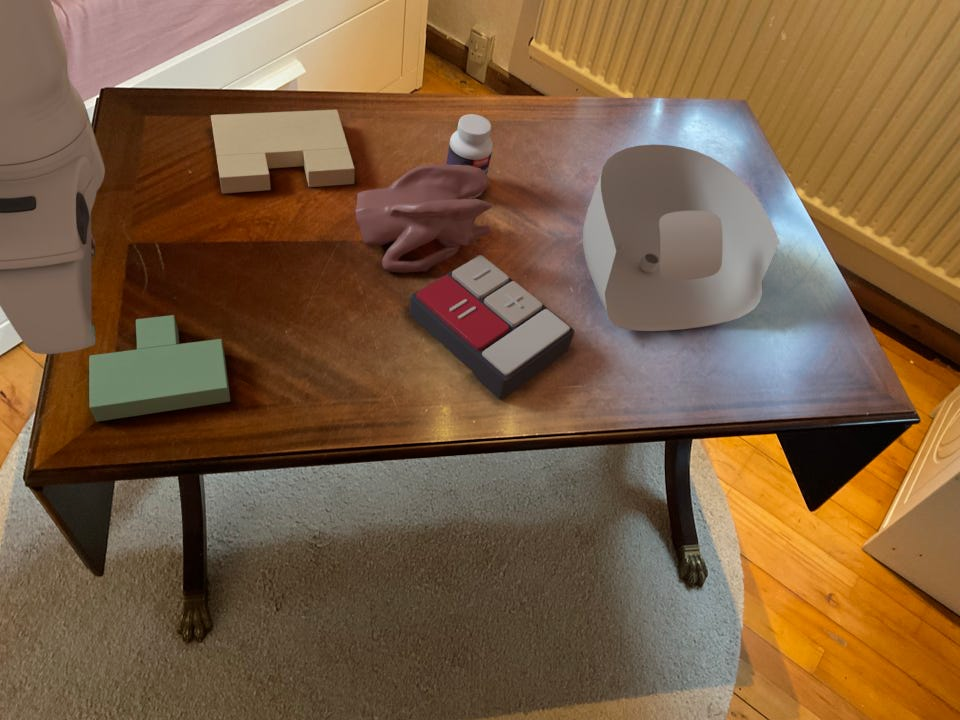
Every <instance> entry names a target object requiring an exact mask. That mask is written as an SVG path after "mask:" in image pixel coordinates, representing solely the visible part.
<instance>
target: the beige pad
mask: <svg viewBox="0 0 960 720" xmlns="http://www.w3.org/2000/svg"><path fill="white" fill-rule="evenodd" d="M340 117H341V116H340V114H339V111H338V109H318V110H317V109H316V110H295V111H274V112H273V111H272V112H270V111H269V112H249V113H248V112H247V113H229V114H211V115H210V120H211V127H212V134H213V140H214V141H213V143H214V148H215V155H216V162H217V168H218V176H219V183H220V189H221V194H234V193H236V194H237V193H249V192H263V191H271V190H272V189H271V188H272V187H271V176H270V171H269V169H278V168H279V169H280V168H296V167H303V169H304V173H305V177H306V181H307V185H308V188H317V187H330V186H331V187H332V186H342V185H343V186H344V185H354V184H355V173H356V172H355V166H354V160H353V158H352V155H351V152H350V151H351V150H350V148H349V145H348V142H347V141H348V140H347V138H346V135H345V131H344V127H343V124H342V120H341V118H340Z"/></svg>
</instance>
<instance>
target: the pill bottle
mask: <svg viewBox="0 0 960 720" xmlns="http://www.w3.org/2000/svg"><path fill="white" fill-rule="evenodd" d="M491 130H492V124H491V122H490V121H489V119H487V118H486V117H484V116H482V115H480V114H474V113H469V114H464V115H462V116H461V117H460V118H459V119H458V123H457V128H456V130H455V131H454V132H453V133H452V135H450V139H449V143H448V150H447V157H446V163H445V164H448V165H468V166H473V167H476V168H480V169H481V170H483V172H484V173H485V174H486V176H487V177H488V172H489V167H490V162H491V158H492V153H493V147H494V144H493V140H492V139H491V137H490V136H491ZM482 194H483V192H481V193H480V194H478V195H477V196H474V197H469V198H468V199H476V198H477V197H479V196H481V195H482Z"/></svg>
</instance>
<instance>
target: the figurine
mask: <svg viewBox="0 0 960 720" xmlns="http://www.w3.org/2000/svg"><path fill="white" fill-rule="evenodd" d="M489 184H490V179H489V178H488V175H487V176H486V174H485V173H484V172H483V170H481V169H480V168H476V167H473V166H468V165H448V164H446V163H438V164H422V165H418V166H416V167H414V168H412V169H409V170H408V171H407V172H405V173H403V174H402V175H401V176H400V177H399V178H398V179H395V180H394V181H392V183H391V185H390V186H388V187H383V188H375V189H369V190H368V189H367V190H363V191H360V192H357V194H356V206H355V211H354V213H355V218H356V221H357V224H358V227H359V229H360V234H361V238H362V240H363V243H364V244H365V245H366V246H369V247H379V246H384V245H387V244H390V243H392V244H391V245H390V246H389V247H388V248H387V250H386V252H385V253H384V255H383V256H382V260H381V266H382V268H383V269H384V270H385V271H386V272H392V273H397V274H405V273H406V274H407V273H418V272H421V273H424V272H428V270H430V269H431V268H433V267H434V266H437V265H439V264H441V263H442V262H444V261H446V260H449V259H451V258H453V257H454V256H455V255H456V254H457V253H458V251H459V249H460V247H461V246H463V247H464V246H465V247H467V246H468V245H474V243H476V242H477V241H478V239H480V238H482V237H484V236H487V235H489V234H492V233H493V231H494V229H493V227H492V226H490V225H487V224H481V225H475V222H476V219H477V218H478V217H479V216H480V215H482V214H483V213H485V212H487V211H488V210H490V209H492V207H493V205H492V203H490V202H489V201H485V200H482V199H478V198H472V199H468V198H469V197H474V196H477V195H478V194H480V193H481V192H482V193H483V192H484V191H485V190H486V189H487V188H488V186H489ZM482 193H481V194H482ZM481 194H480V195H481ZM434 240H438V243H439V245H440V247H441V248H442V249H440V250H437V251H435V252H433V253H431V254H428V255H427V256H424V257H423V258H420V259H416V260H400V258H401V257H402V256H404V255H406V254H408V253H410V252H412V251H413V250H416V249H418V248H420V247H422V246H424V245H426V244H428V243H432V241H434Z"/></svg>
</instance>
